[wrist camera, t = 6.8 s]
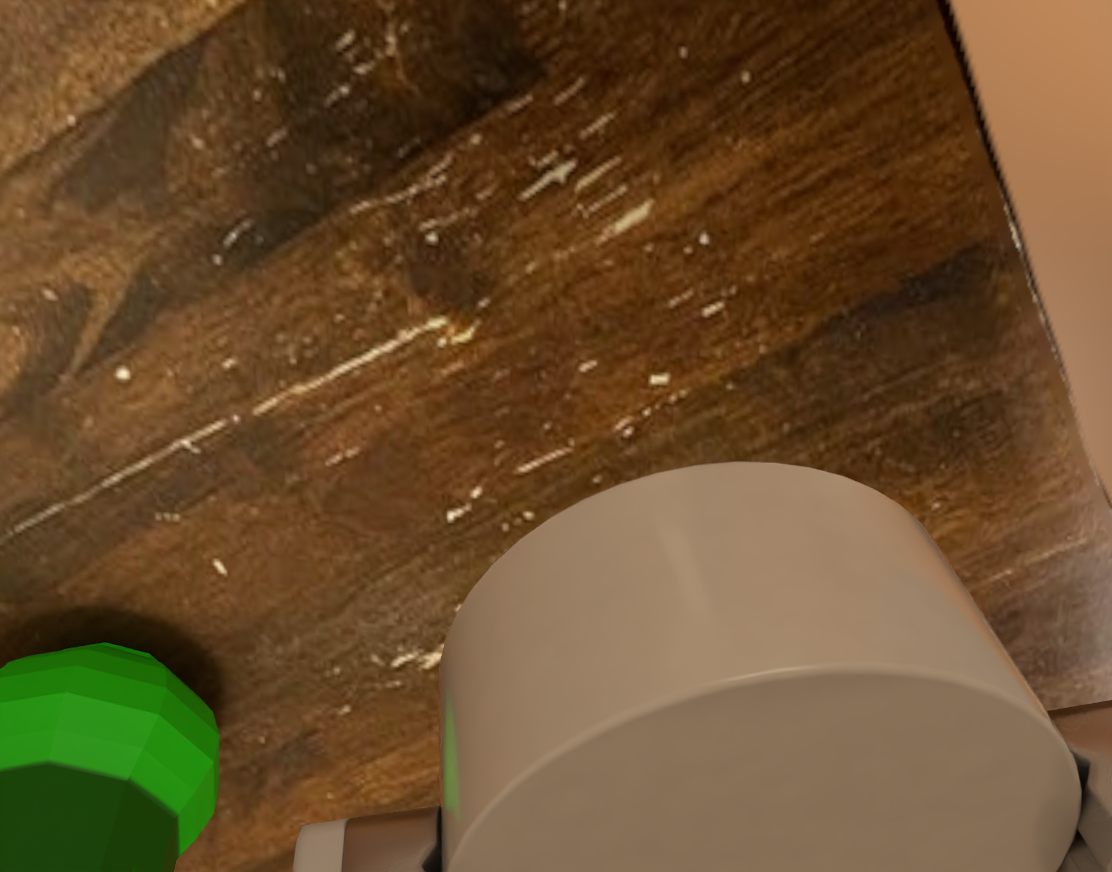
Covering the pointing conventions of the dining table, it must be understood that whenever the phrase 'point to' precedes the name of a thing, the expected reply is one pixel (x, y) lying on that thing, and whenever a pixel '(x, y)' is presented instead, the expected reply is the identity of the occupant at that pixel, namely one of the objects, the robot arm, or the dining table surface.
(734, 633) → the beige hockey puck
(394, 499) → the dining table surface
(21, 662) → the plastic bottle
